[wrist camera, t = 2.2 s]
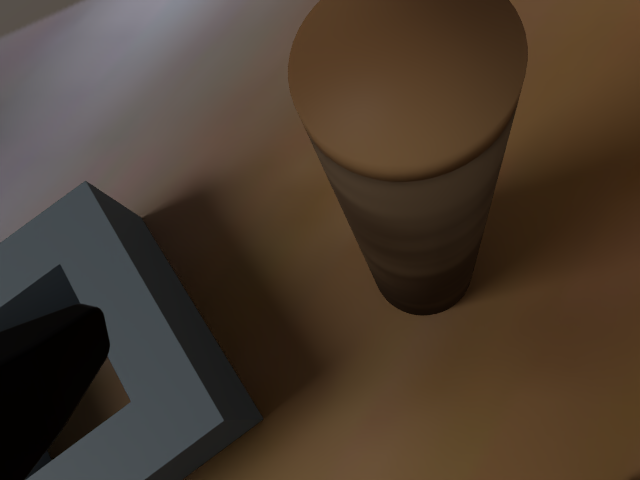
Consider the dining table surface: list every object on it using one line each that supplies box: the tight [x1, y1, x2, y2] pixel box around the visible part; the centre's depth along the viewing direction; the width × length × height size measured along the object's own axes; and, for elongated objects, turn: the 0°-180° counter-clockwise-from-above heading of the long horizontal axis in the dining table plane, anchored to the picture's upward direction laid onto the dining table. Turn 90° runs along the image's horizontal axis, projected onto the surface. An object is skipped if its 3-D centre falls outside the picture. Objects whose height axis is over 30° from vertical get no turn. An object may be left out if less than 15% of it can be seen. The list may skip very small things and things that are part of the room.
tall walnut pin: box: [288, 0, 528, 315], centre depth 14 cm, size 4×4×13 cm
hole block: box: [0, 181, 263, 480], centre depth 20 cm, size 10×10×4 cm
